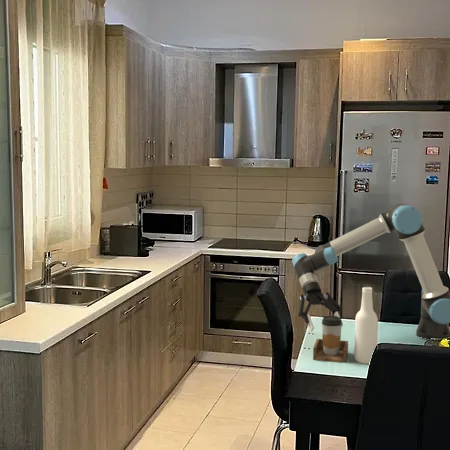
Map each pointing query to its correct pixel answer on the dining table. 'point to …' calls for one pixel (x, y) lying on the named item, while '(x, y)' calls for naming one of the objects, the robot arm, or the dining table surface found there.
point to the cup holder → (320, 355)
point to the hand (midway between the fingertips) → (326, 328)
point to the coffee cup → (331, 335)
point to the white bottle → (365, 328)
